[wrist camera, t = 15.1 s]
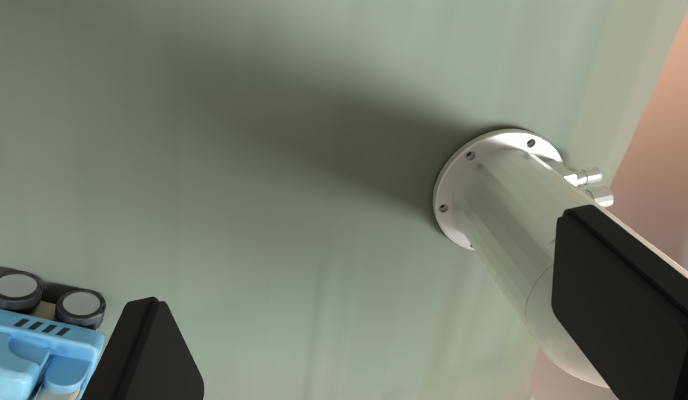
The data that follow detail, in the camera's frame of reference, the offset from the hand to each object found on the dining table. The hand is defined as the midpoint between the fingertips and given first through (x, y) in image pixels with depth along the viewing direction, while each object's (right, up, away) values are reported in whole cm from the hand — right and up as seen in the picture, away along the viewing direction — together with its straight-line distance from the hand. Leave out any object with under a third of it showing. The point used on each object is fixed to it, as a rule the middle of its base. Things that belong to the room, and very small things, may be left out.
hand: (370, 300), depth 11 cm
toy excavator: (-26, -9, +34) cm, 44 cm away
